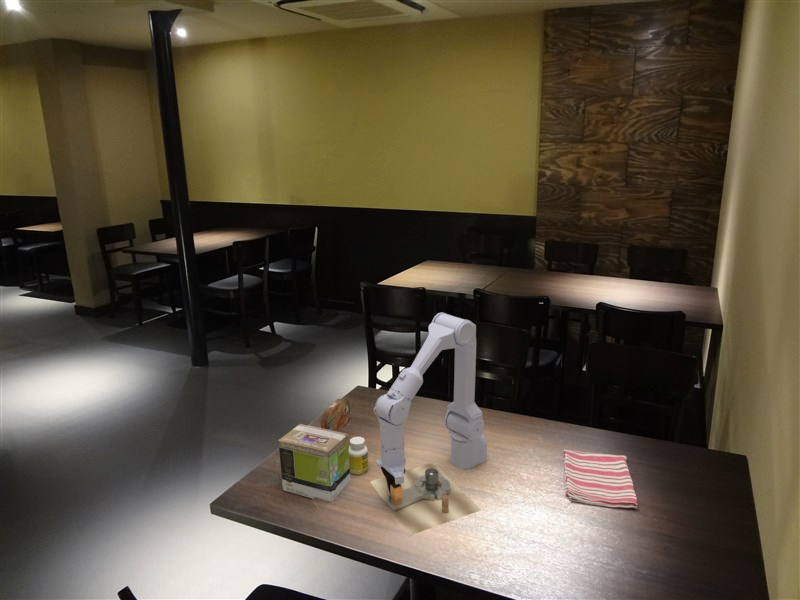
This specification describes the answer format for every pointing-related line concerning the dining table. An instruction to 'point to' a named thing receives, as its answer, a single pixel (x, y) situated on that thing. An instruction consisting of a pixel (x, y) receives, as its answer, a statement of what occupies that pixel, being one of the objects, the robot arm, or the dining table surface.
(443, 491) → the crank
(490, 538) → the dining table surface
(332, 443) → the tea box
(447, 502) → the dowel
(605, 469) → the dish towel
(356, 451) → the supplement bottle
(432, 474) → the post
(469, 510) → the board
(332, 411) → the brown flat packet
